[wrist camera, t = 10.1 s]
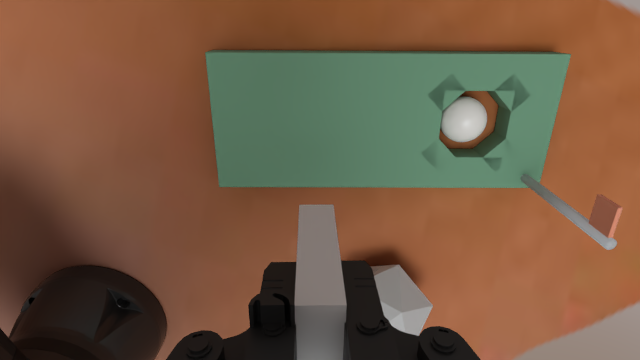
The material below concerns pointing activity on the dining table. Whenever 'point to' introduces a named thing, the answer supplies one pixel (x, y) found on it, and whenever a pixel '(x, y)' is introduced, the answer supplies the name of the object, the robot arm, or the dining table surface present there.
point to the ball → (463, 119)
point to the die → (401, 299)
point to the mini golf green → (387, 121)
